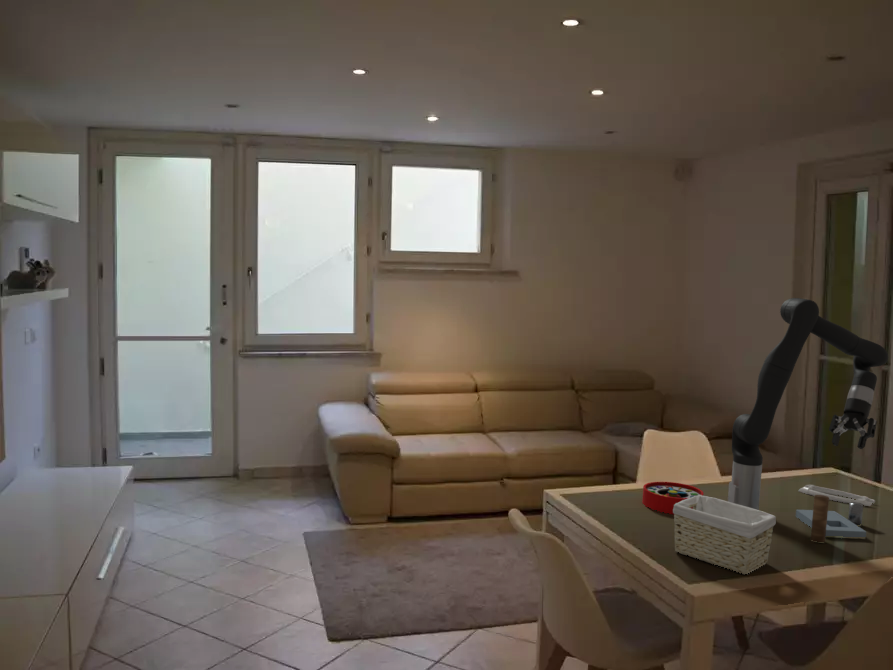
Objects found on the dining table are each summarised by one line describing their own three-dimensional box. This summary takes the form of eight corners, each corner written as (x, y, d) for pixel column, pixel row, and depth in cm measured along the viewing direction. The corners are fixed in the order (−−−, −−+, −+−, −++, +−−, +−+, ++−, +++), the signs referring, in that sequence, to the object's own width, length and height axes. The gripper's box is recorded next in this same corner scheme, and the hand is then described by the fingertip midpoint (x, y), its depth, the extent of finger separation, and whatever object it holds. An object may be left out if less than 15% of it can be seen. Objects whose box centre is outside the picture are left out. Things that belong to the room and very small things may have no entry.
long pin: (814, 543, 236) (818, 498, 235) (808, 538, 240) (812, 494, 239) (827, 543, 236) (831, 498, 235) (821, 539, 240) (825, 495, 239)
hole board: (823, 537, 242) (824, 529, 242) (795, 516, 262) (796, 509, 261) (865, 539, 242) (866, 531, 242) (834, 518, 262) (834, 511, 261)
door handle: (869, 510, 274) (795, 493, 291) (876, 504, 281) (804, 488, 298) (869, 503, 274) (796, 486, 291) (877, 497, 281) (805, 481, 298)
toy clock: (648, 496, 259) (639, 479, 279) (647, 513, 259) (638, 495, 279) (710, 500, 257) (696, 483, 277) (708, 517, 258) (695, 499, 278)
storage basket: (774, 565, 218) (779, 513, 216) (748, 579, 206) (752, 525, 205) (695, 540, 235) (699, 492, 233) (667, 553, 224) (671, 502, 222)
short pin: (851, 526, 254) (853, 505, 254) (845, 522, 258) (847, 501, 258) (863, 526, 254) (865, 505, 254) (857, 522, 258) (859, 502, 258)
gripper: (833, 395, 265) (821, 440, 261) (874, 398, 253) (862, 445, 249) (844, 404, 268) (832, 448, 265) (886, 407, 256) (874, 453, 253)
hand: (847, 446), depth 257 cm, fingers open, 8 cm apart
